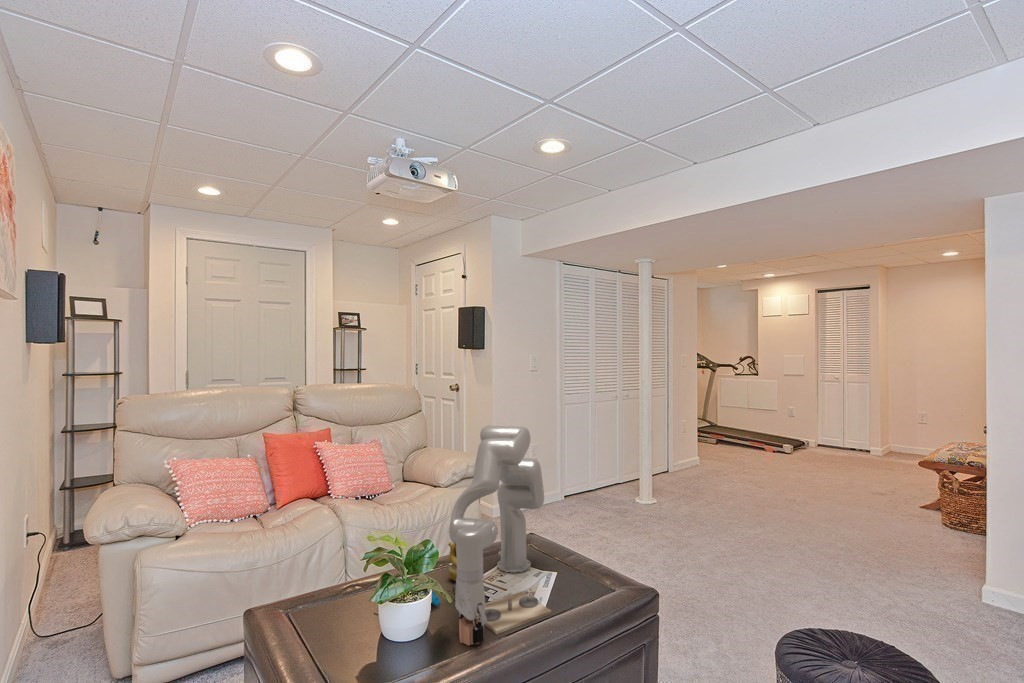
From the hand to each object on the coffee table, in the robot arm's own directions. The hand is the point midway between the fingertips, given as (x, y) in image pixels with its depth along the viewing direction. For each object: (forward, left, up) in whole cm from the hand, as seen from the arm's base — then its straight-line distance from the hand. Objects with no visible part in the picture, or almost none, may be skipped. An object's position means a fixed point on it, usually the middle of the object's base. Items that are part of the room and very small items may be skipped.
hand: (471, 635), depth 149 cm
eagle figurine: (-20, +8, -1) cm, 21 cm away
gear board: (-6, +17, -1) cm, 18 cm away
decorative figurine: (-35, +16, -1) cm, 38 cm away
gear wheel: (0, 0, -1) cm, 1 cm away
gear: (-26, -2, -1) cm, 26 cm away
